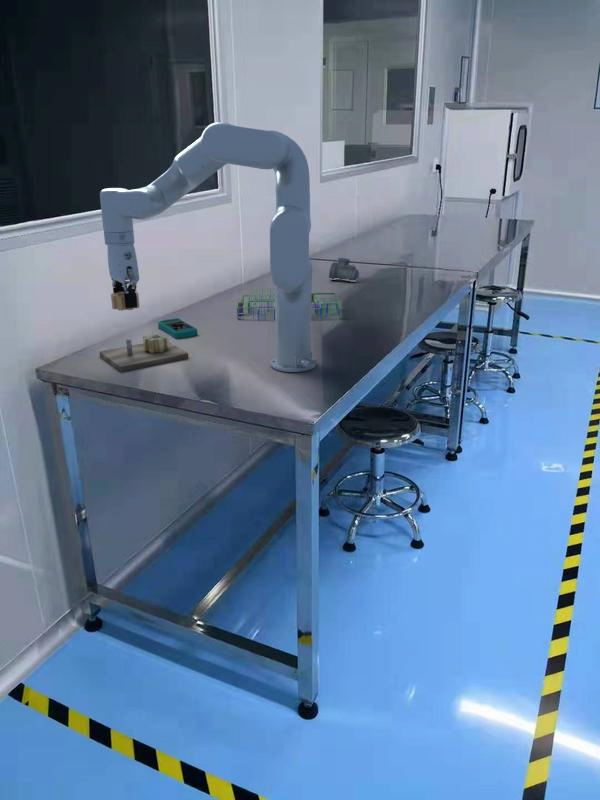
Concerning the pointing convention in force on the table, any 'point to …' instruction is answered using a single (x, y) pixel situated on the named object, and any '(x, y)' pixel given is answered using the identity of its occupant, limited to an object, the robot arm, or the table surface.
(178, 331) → the digital multimeter
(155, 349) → the green gear
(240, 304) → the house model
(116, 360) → the gear board
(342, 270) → the pipe fitting
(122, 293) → the tan gear
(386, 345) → the table surface
